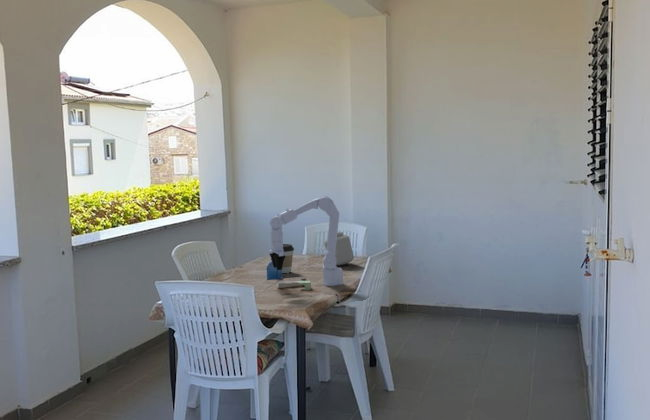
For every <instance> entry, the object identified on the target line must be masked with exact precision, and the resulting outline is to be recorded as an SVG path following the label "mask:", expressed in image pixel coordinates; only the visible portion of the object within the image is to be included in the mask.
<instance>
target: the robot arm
mask: <svg viewBox="0 0 650 420" xmlns="http://www.w3.org/2000/svg"><path fill="white" fill-rule="evenodd" d="M312 209H314V210H319V209H320V210H322V211H323V212H325V214H327V216H329V222H328V231H327V239H328V240H327V249H326V248H325V255H324V256H323V259H322V261H323V262H322V264H323V267H322V284H323V286H326V287H327V286H328V287H333V286H340V285H344V273H343V269H342V268H341V267H338V265H337V266H336V264H337V262H336V257H335V254H336V242H337V233H339V231H338V230H339V223H340V222H339V220H340V211H339V210H338V208H337V206H336V204H335V203H334V200H333V199H331V198H330V196H327V195H322V196H320V197H317V198H314V199H312V200H310V201H308V202H306V203H304V204H302V205H300V206H299V207H297V208H295V209H294V208H287V209H285V211H283V212H281V213H277V214H276V215H275V216H273V217H271V219H270V222H269V225H270V226H271V227H270V248H271V249H269V250H268V252H270V253H269V256H270V260H271V259H272V261H271V262H273V266H274V268H276V267H277V270H282V266H283V262H284V259H285V257H286V256H285V255H283V251H284V250H283V244H284V238H283V237H284V234H283V227H282V226H283V225H285V226H286V225H287V224H289V223H291V222H293V221H295V220H297V218H298V216H299V215H301V214H303V213H305V212H308V211H310V210H312Z"/></svg>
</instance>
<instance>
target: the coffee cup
mask: <svg viewBox="0 0 650 420" xmlns="http://www.w3.org/2000/svg"><path fill="white" fill-rule="evenodd" d="M283 250H284V251H283V255H285V256H286V257H285V259H284V262H283V266H282V273H287V274H290V273H289V272H292V267H293V256H294V250H295V248H294V247H293V245H292V244H289V243H283Z"/></svg>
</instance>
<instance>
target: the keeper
mask: <svg viewBox="0 0 650 420" xmlns="http://www.w3.org/2000/svg"><path fill="white" fill-rule="evenodd" d="M298 281H299V282H298V285H305V290H310V289H311V285H312V281H311V280H307V281H301V280H298Z"/></svg>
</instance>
